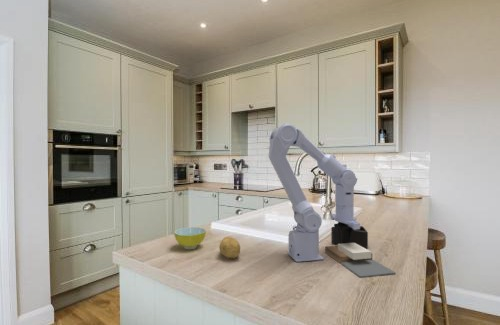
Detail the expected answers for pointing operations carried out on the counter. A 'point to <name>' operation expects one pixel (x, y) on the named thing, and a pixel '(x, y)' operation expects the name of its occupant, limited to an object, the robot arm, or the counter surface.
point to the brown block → (340, 255)
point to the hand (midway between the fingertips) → (344, 245)
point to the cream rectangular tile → (354, 251)
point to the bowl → (190, 236)
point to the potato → (229, 247)
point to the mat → (367, 268)
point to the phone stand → (352, 237)
